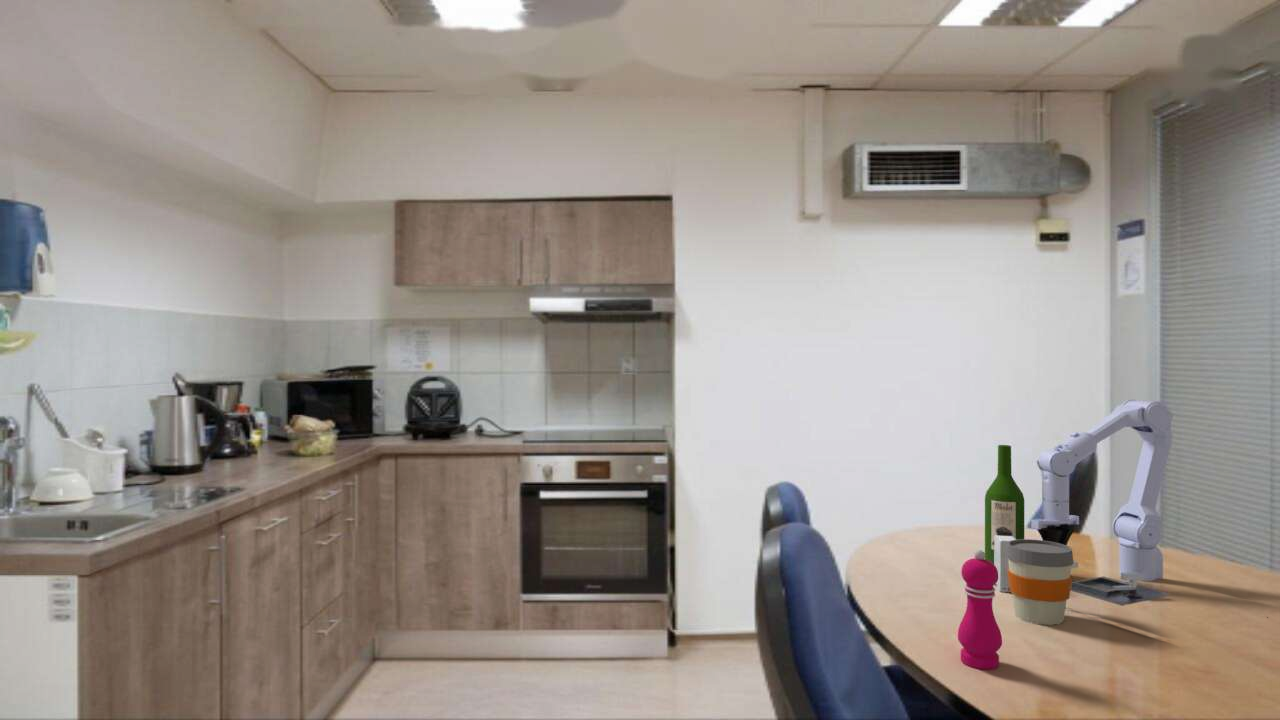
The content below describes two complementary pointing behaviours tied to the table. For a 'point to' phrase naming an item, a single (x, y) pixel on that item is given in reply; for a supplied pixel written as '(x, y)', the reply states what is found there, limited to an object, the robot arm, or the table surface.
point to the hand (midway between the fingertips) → (1055, 556)
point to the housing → (1114, 591)
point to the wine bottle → (1003, 505)
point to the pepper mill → (979, 615)
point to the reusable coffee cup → (1039, 579)
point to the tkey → (1130, 581)
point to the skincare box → (1002, 562)
